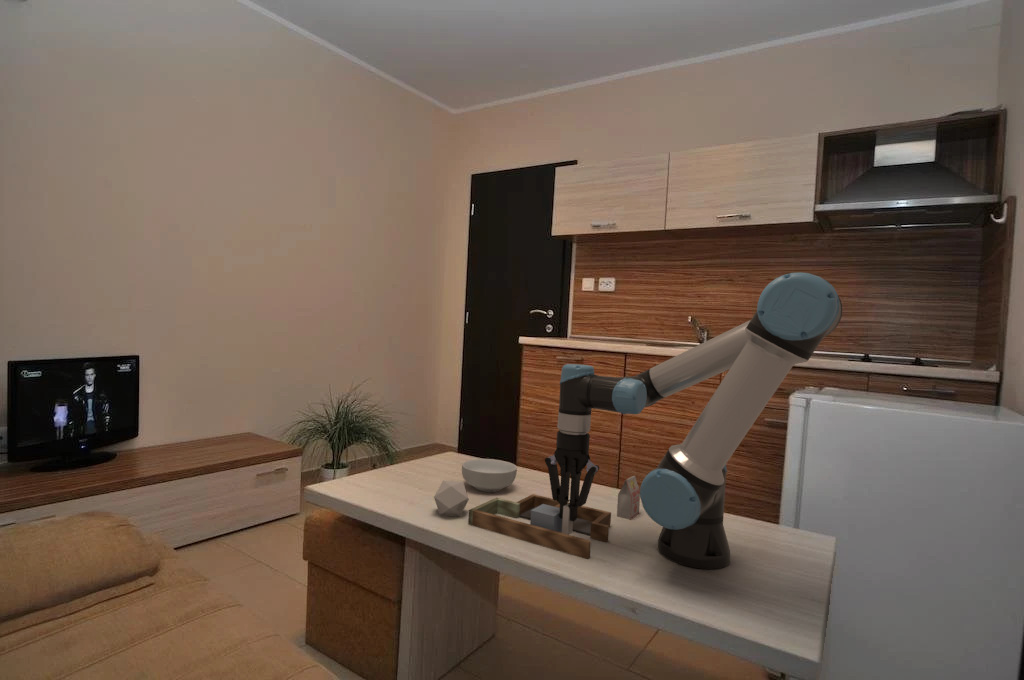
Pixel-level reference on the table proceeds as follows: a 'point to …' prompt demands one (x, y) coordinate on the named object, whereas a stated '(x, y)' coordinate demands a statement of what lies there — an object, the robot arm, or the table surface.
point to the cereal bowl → (488, 474)
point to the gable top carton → (628, 499)
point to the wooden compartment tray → (586, 523)
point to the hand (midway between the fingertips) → (566, 533)
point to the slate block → (546, 517)
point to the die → (451, 498)
